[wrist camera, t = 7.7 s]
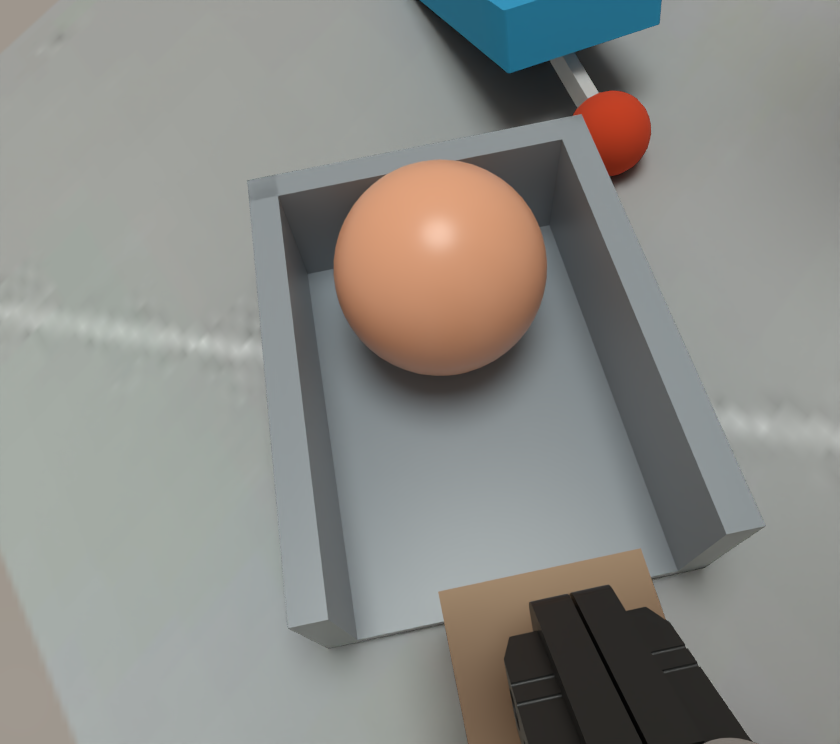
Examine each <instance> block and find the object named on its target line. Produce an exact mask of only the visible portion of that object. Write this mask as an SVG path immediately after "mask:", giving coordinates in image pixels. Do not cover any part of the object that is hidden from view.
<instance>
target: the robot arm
mask: <svg viewBox="0 0 840 744" xmlns="http://www.w3.org/2000/svg"><path fill="white" fill-rule="evenodd" d="M529 610H530V616H531V622H532V628H533V632H529V633H524V634H520V635H515V636H511V637H509V640H508V644H507V648H506V652H505V656H504V664H505V669H506V674H507V679H508V685H509V690H510V695H511V700H512V706H513V711H514V716H515V721H516V727H517V730H518V734H519V737H520V741H521V744H757V743H754V742H752V740H751V739H750V738H749V737H748V735H747V734H746V733H745V731H744V730H743V728H742V727H741V725H740V724H739V722H738V721H737V719H736V718H735V717H734V715H733V714H732V712H731V711H730V709H729V708H728V706H727V705H726V703H725V702H724V701H723V699H722V698H721V696H720V695H719V693H718V692H717V690H716V689H715V687H714V686H713V685H712V683H711V682H710V680H709V679H708V677H707V676H706V674H705V673H704V672H703V670H702V669H701V667H699V666H698V664H697V661H696V660H695V658H694V657H693V656H692V654H691V653H690V651H689V650H688V649H686V647H685V644H684V642H683V641H682V640H681V638H680V637H679V635H678V634H677V632H676V631H675V629H674V628H673V626H672V625H671V624H670V622H668V621H667V620H665V619H664V618H662V617H661V616H659V615H658V614H656V613H655V612H653V611H652V610H650V609H649V608H647V607H641V608H637V609H632V610H628V611H626V610H625V608H624V607H623V605H622V603H621V602H620V600H619V598H618V597H617V595H616V593H615V592H614V590H613V589H612V587H611V586H610V585H609V584H608V585H603V586H598V587H594V588H589V589H585V590H580V591H576V592H571V593H570V594H563V595H558V596H554V597H549V598H544V599H540V600H535V601H531V602H529Z"/></svg>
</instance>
